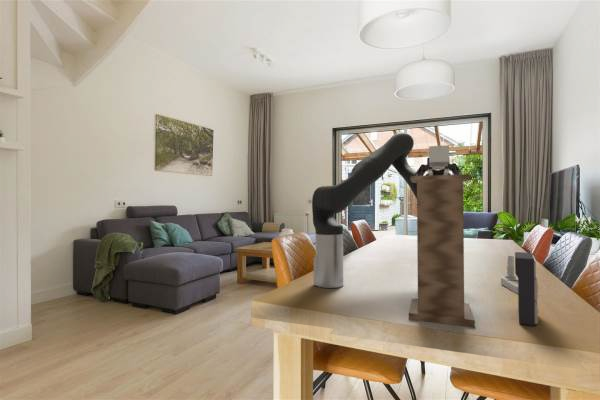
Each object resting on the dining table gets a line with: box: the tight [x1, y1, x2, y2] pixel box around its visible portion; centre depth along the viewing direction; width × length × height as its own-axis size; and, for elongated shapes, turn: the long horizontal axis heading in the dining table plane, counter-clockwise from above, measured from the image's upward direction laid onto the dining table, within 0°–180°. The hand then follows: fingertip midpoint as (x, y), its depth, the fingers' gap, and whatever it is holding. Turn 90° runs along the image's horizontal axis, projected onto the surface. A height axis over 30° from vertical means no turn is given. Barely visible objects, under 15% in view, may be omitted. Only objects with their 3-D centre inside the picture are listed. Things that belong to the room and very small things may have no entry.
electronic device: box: [500, 255, 518, 295], centre depth 108 cm, size 5×10×15 cm
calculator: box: [514, 251, 539, 327], centre depth 81 cm, size 11×4×15 cm, turn 148°
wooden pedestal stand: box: [408, 173, 476, 328], centre depth 84 cm, size 14×14×34 cm
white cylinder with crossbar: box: [428, 144, 450, 170], centre depth 90 cm, size 21×4×4 cm, turn 158°
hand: (438, 157), depth 94 cm, fingers closed on white cylinder with crossbar, 3 cm apart
